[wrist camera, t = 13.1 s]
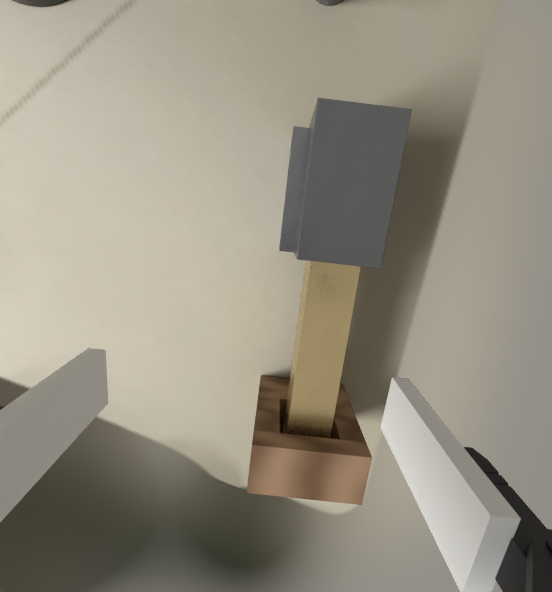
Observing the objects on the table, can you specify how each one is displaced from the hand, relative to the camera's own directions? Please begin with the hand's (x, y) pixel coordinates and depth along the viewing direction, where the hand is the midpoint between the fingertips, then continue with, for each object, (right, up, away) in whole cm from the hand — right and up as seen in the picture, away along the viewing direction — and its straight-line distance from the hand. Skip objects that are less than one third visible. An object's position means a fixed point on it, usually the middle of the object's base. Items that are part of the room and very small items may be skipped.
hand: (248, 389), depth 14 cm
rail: (+6, 0, +19) cm, 20 cm away
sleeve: (+7, +15, +21) cm, 27 cm away
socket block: (+4, -9, +27) cm, 28 cm away
